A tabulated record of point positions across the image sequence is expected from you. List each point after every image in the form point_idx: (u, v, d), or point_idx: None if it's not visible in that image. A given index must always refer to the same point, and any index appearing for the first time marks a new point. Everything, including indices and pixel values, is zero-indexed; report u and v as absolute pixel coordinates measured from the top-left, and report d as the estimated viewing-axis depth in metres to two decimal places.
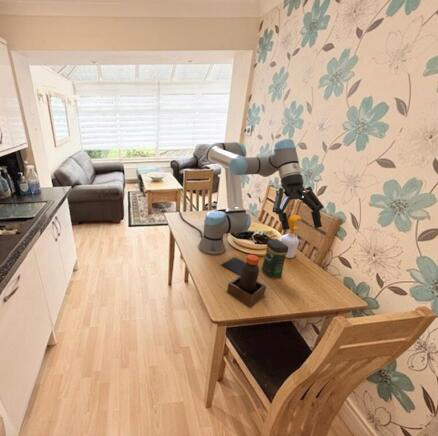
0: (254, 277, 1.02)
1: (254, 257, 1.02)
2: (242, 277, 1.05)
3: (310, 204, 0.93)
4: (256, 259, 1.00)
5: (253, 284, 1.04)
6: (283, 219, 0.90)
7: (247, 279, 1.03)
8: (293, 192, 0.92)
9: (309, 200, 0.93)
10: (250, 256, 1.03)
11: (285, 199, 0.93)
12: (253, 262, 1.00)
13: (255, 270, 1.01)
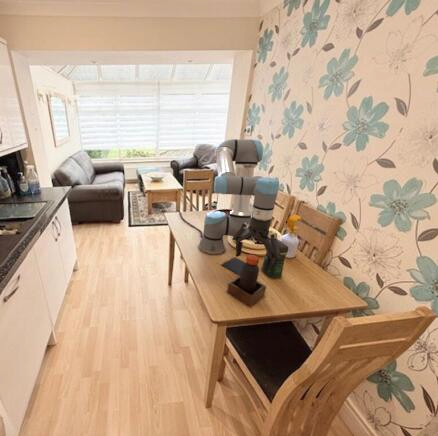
0: (254, 277, 1.02)
1: (254, 257, 1.02)
2: (242, 277, 1.05)
3: None
4: (256, 259, 1.00)
5: (253, 284, 1.04)
6: (236, 247, 1.06)
7: (247, 279, 1.03)
8: (251, 232, 0.98)
9: (265, 246, 0.94)
10: (250, 256, 1.03)
11: (246, 234, 1.01)
12: (253, 262, 1.00)
13: (255, 270, 1.01)
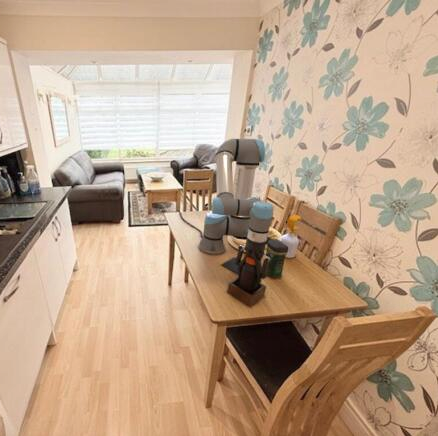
0: (254, 277, 1.02)
1: None
2: (242, 277, 1.05)
3: None
4: None
5: (253, 284, 1.04)
6: (238, 272, 1.09)
7: (247, 278, 1.03)
8: (247, 253, 1.02)
9: (256, 266, 1.00)
10: None
11: None
12: (253, 262, 1.00)
13: (255, 270, 1.01)
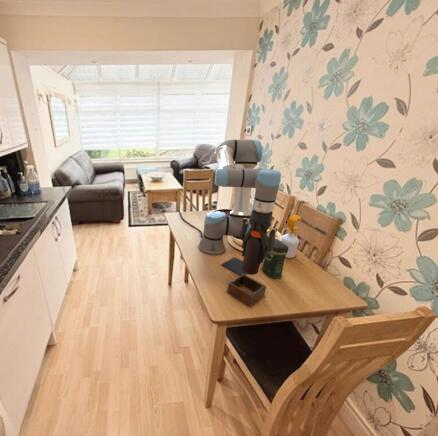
0: (259, 251, 0.97)
1: None
2: (247, 252, 1.00)
3: None
4: None
5: (258, 259, 0.99)
6: (243, 247, 1.04)
7: (252, 253, 0.98)
8: (252, 225, 0.97)
9: (262, 239, 0.95)
10: None
11: None
12: (258, 235, 0.95)
13: (260, 243, 0.96)
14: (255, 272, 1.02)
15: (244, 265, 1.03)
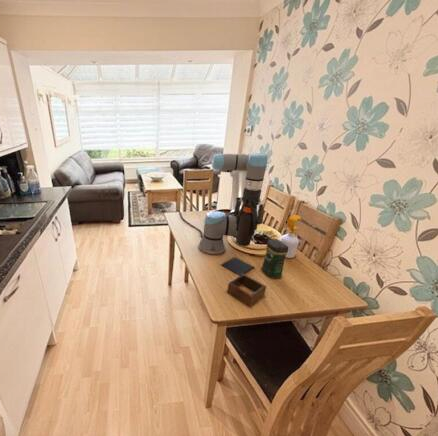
0: (250, 224, 1.13)
1: None
2: (240, 226, 1.16)
3: None
4: None
5: (249, 231, 1.15)
6: (236, 222, 1.20)
7: (244, 226, 1.14)
8: (244, 202, 1.13)
9: (252, 213, 1.11)
10: None
11: None
12: (249, 210, 1.11)
13: (251, 218, 1.12)
14: (247, 244, 1.18)
15: (238, 238, 1.19)
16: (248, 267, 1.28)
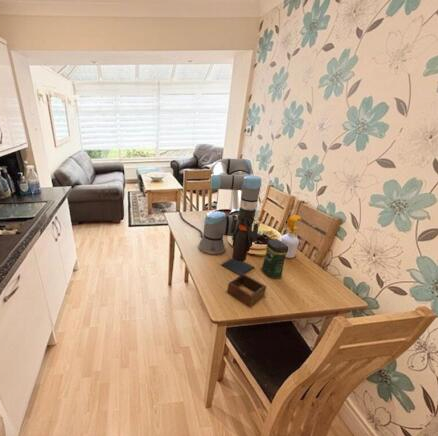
0: (246, 241, 1.20)
1: None
2: (236, 242, 1.23)
3: None
4: None
5: (245, 248, 1.21)
6: (233, 239, 1.26)
7: (240, 243, 1.21)
8: (239, 221, 1.19)
9: (248, 231, 1.18)
10: None
11: None
12: (245, 228, 1.18)
13: (246, 235, 1.19)
14: (243, 259, 1.24)
15: (234, 254, 1.25)
16: (248, 267, 1.28)
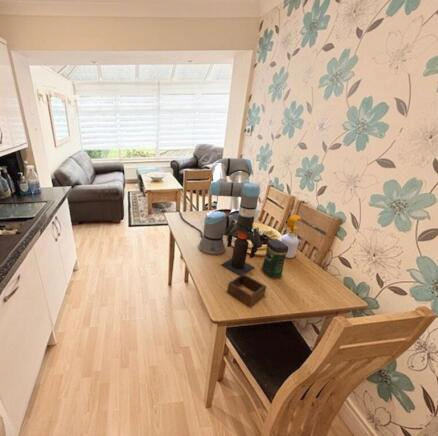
0: (244, 249, 1.22)
1: (244, 233, 1.21)
2: (234, 250, 1.25)
3: None
4: (246, 234, 1.20)
5: (243, 256, 1.23)
6: (227, 240, 1.30)
7: (239, 251, 1.22)
8: (238, 227, 1.21)
9: (250, 238, 1.18)
10: (241, 232, 1.22)
11: None
12: (243, 236, 1.20)
13: (245, 243, 1.21)
14: (241, 267, 1.26)
15: (233, 261, 1.27)
16: (248, 267, 1.28)
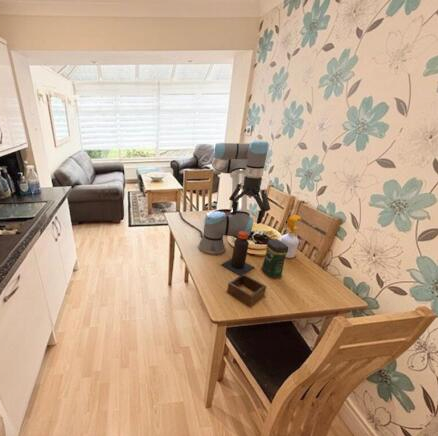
0: (244, 249, 1.22)
1: (244, 233, 1.21)
2: (234, 250, 1.25)
3: None
4: (246, 234, 1.20)
5: (243, 256, 1.23)
6: (232, 207, 1.22)
7: (239, 251, 1.22)
8: (244, 191, 1.13)
9: (257, 201, 1.10)
10: (241, 232, 1.22)
11: None
12: (243, 236, 1.20)
13: (245, 243, 1.21)
14: (241, 267, 1.26)
15: (233, 261, 1.27)
16: (248, 267, 1.28)
